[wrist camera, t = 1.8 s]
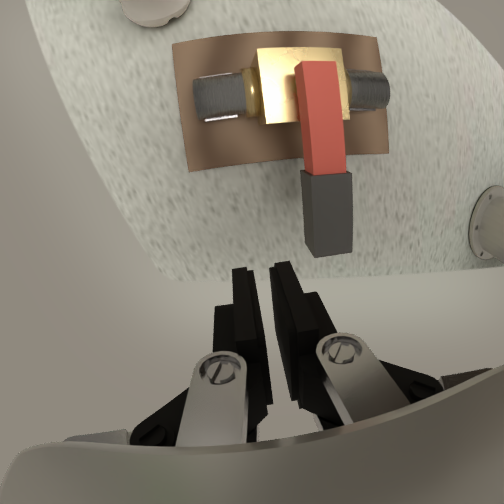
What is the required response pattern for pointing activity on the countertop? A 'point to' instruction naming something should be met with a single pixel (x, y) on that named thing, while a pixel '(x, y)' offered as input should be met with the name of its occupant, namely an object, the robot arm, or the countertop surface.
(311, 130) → the valve lever
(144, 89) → the countertop surface
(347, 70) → the ball valve
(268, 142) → the mounting board
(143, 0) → the water bottle
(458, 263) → the countertop surface
